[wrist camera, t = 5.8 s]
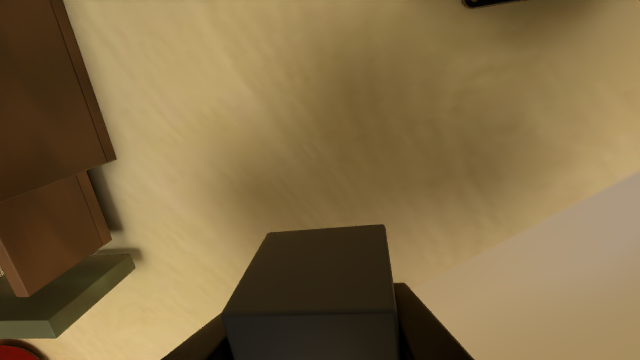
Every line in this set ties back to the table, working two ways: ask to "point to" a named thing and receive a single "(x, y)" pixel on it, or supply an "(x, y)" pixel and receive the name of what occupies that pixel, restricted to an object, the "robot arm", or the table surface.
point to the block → (316, 298)
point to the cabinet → (44, 100)
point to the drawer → (54, 259)
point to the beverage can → (16, 353)
